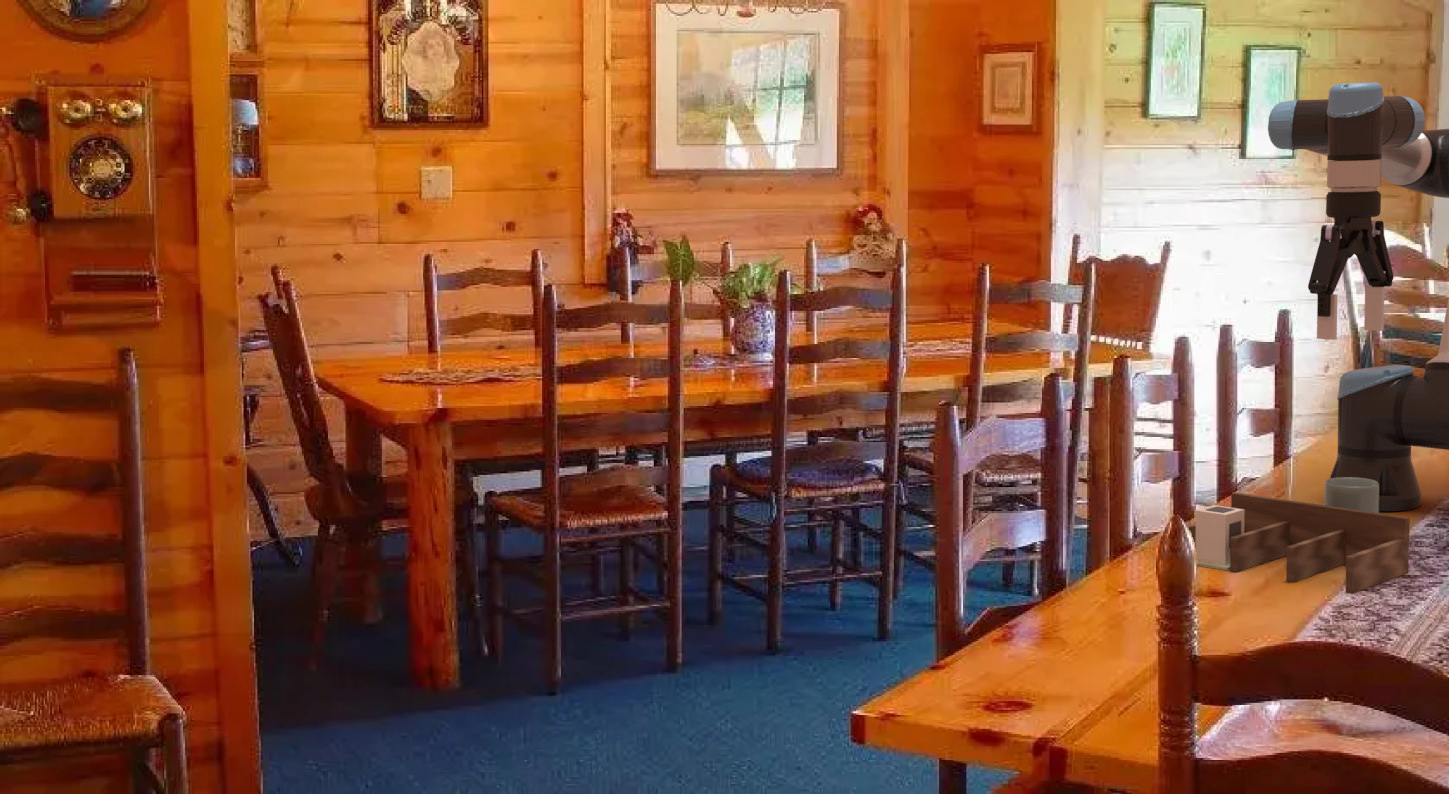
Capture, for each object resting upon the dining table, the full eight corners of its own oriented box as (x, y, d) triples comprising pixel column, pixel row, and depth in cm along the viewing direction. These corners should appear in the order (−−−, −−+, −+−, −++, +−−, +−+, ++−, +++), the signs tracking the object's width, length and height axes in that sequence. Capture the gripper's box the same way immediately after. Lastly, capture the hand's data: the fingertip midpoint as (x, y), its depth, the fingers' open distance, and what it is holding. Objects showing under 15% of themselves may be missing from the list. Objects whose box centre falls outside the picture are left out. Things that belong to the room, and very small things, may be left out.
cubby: (1235, 543, 270) (1235, 492, 269) (1408, 572, 250) (1409, 517, 249) (1176, 561, 260) (1177, 508, 259) (1352, 593, 239) (1353, 536, 238)
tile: (1223, 551, 266) (1223, 548, 266) (1264, 558, 260) (1264, 555, 260) (1185, 563, 259) (1185, 560, 259) (1227, 570, 254) (1227, 568, 254)
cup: (1381, 553, 262) (1383, 487, 260) (1327, 552, 263) (1328, 486, 262) (1373, 541, 269) (1375, 477, 268) (1320, 540, 271) (1321, 476, 269)
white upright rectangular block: (1214, 554, 262) (1214, 504, 261) (1244, 559, 259) (1245, 509, 257) (1195, 560, 259) (1195, 509, 258) (1225, 565, 255) (1226, 514, 254)
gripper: (1372, 186, 267) (1369, 325, 270) (1284, 193, 250) (1282, 341, 253) (1419, 186, 261) (1416, 328, 264) (1332, 193, 245) (1330, 344, 248)
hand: (1350, 334), depth 259 cm, fingers open, 13 cm apart
